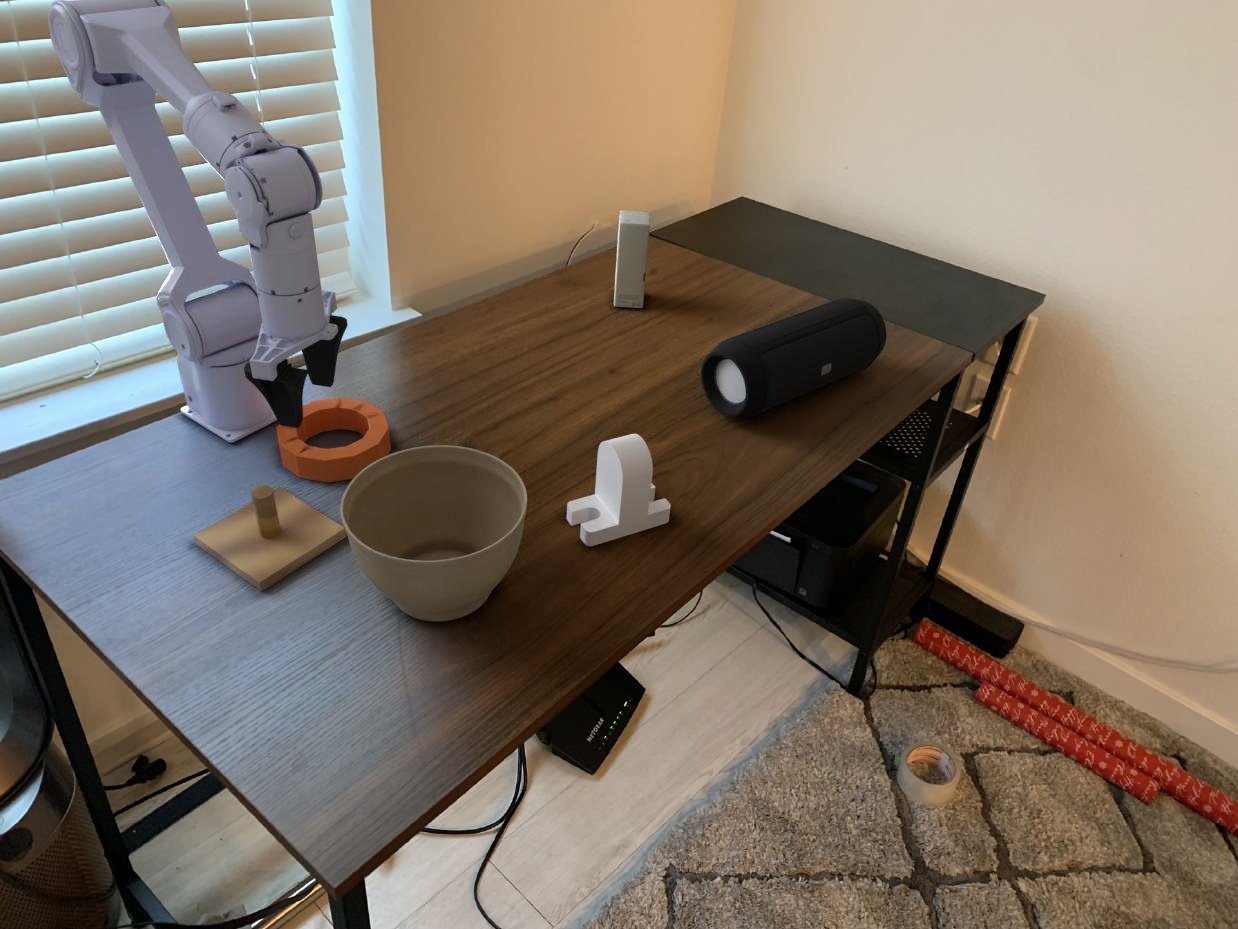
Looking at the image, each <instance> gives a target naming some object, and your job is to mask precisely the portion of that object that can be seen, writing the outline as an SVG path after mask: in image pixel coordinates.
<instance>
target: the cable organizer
mask: <svg viewBox="0 0 1238 929" xmlns="http://www.w3.org/2000/svg"><path fill="white" fill-rule="evenodd" d="M653 471H654V466H653V458H652V455H651V452H650V449H649V447H648V445H647V443H646V441H645V440H644V438H643V437H642V436H641V435H640V434H638V433H630V434H627V435H623V436H619V437H615V438H611V439H607V440H603V441H601V442H600V443H599V445H598V448H597V458H596V472H595V485H594V494H591V495H587V496H584V497H580V498H576V499H573V500H569V501H568V502H567V503H566V520H567V522H568V523H569V525H570V526H571V527H572V526H573V527H574V526H576V525H579V524H580V532H579V539H580V540H581V541H582V542H583V544H584V545H585V546H587V547H594V546H597V545H599V544H600V545H601V544H604V543H606V542H611V541H613V540H616V539H620V538H624V537H626V536H630V535H632V534H636V533H639V532H643V531H646V530H648V529H653V528H655V527H659V526H662V525H664V524H665V525H666V524H667V523H669V520H670V513H671V503H670V501H668V500H667V498H661V499H657V500H655V494H656V486H655V485H654V483H652V482H653V473H654V472H653Z"/></svg>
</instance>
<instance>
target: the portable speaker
mask: <svg viewBox="0 0 1238 929" xmlns="http://www.w3.org/2000/svg"><path fill="white" fill-rule="evenodd" d="M887 335H888V334H887V327H886V323H885V319H884V317H883V316H882V314H881V312H880V311H879V310H878V309H877V308H876V307H875V306H874V305H873V304H871V303H870V302H868V301H865V300H862V299H856V298H851V297H840V298H837V299H835V300H832V301H829V302H827V303H826V302H825V303H823V304H820V305H817V306H815V307H811V308H809V309H807V310H803V311H800V312H798V313H795V314H793V315H789V316H787V317H783V318H781V319H778V320H776V321H773V322H769V323H767V324H765V325H762V326H759V327H757V328H753V329H751V330H748V331H746V332H743V333H739V334H737V335H734V336H731V337H729V338H726V339H723V340H722V341H721V342H718V344H716V346H715V347H714V348H713V349H712V350H711V351H710V352H709V353H708V354H707V355H706V356H705V357H704V359H703V362H702V365H701V369H700V381H701V386H702V390H703V392H704V395H705V397H706V398H707V401H708V402H709V403H710V405H711V406H712V408H714V409H715V410H716V411H717V412H718V413H720V414H721V415H722V416H726V417H730V418H745V419H746V418H747V419H748V418H753V417H756V416H758V415H759V414H762V413H763V412H766V411H769V410H771V409H773V408H775V407H778V406H781V405H782V404H785V403H787V402H790V401H791V400H794V399H796V398H799V397H801V396H803V395H806V394H808V393H811V392H814V391H815V390H817V389H820V388H823V387H824V386H827V385H829V384H831V383H833V382H837V381H838V380H841V379H843V378H845V377H848V376H850V375H852V374H855V373H857V372H859V371H863V370H866V369H867V368H869V367H870V366H871V365H872V364H873V363H874V362H875V361H876V360H877V358H878V357H879V356H880V354H881V353H882V352H883V350H884V348H885V345H886V342H887Z"/></svg>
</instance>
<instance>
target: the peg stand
mask: <svg viewBox="0 0 1238 929" xmlns="http://www.w3.org/2000/svg"><path fill="white" fill-rule="evenodd" d="M250 496H251V502H249V503H248V504H246V505H245V506H243V507H241V508H238V510H236V511H234V512H232V513H231V514H229V515H227V516H225V517H223V518H222V519H220V520H218V521H216V522H214V523H213V524H211V525H208V527H206V528H204V529H202V530H200V531H199V532H197V533H195V534H194V535H193V538H194V542H195V545H196V546H198V547H199V548H200V549H201V550H203V551H204V552H206V553H208V554H209V556H212V557H213V558H214V559H216V560H217V561H218V562H220V563H221V564H223V565H224V566H225V567H227V568H228V569H229V570H231V571H233V573H235V574H237V575H238V576H240V578H242V579H244V580H245V581H246V582H248V583H249V584H250V585H252V586H253V587H255V588H256V589H257V590H259V592H263V591H265V590H266V589H268V588H270V587H271V586H273V585H274V584H276V583H277V582H279V581H281V580H282V579H284V578H285V577H287V576H288V575H289V574H292V573H293V572H294V571H296V570H297V569H299V568H300V567H302V566H303V565H305V564H306V563H308V562H310V561H311V560H313V559H315V558H316V557H317V556H319V555H321V554H322V553H323V552H325V551H327V550H328V549H330V548H332V547H333V546H335V545H336V544H338V543H339V542H341V541H343V540H344V539H345V538H347V533H346V531H345V529H344V526H343V525H340V524H339V523H338V522H336V521H335V520H333V519H331V518H329V517H328V516H326V515H325V514H323V513H322V512H320V511H318V510H317V509H316V508H314V507H312V506H311V505H309V504H308V503H305V502H304V501H302V500H301V499H300V498H298V497H297V496H295V495H294V494H292V493H291V492H288V491H287V490H285V489H284V488H282V487H281V486H277V487H276V488H275V489H273V488H272V486H270V485H257V486H256V487H254V488H253V489H252V490H251V492H250Z"/></svg>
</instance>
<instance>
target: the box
mask: <svg viewBox="0 0 1238 929" xmlns="http://www.w3.org/2000/svg"><path fill="white" fill-rule="evenodd" d="M650 231H651V213H650V212H648V211H637V210H625V209H622V210H620V211H619V220H618V232H617V244H616V245H617V246H616V259H615V261H616V262H615V275H614V293H613V294H614V295H613V307H618V308H628V309H629V308H630V309H631V308H632V309H642V308H644V300H645V288H646V277H647V263H648V255H649V254H648V253H649V243H650Z"/></svg>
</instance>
